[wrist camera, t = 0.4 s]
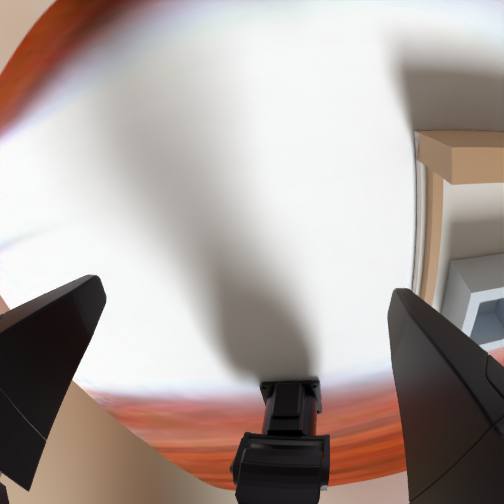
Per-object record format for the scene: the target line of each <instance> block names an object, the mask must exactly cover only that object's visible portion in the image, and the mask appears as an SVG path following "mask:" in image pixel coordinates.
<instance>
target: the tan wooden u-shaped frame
mask: <svg viewBox="0 0 504 504" xmlns="http://www.w3.org/2000/svg"><path fill="white" fill-rule="evenodd" d="M414 136H415V150H416V169H417V234H416V254H415V268H414V279H413V289H412V292H414V293H415V294H416V295H417V296H419V297H420V298H421V299H423V300H424V301H425V302H426V303H428V304H429V305H430V306H432V307H433V308H434V309H435V310H437V311H438V312H439V313H440V314H442V309H443V304H444V299H445V293H446V287H447V281H448V275H449V268H450V261H453V260H461V259H468V258H475V257H482V256H489V255H496V254H503V253H504V132H502V131H477V130H424V131H414Z"/></svg>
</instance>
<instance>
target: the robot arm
mask: <svg viewBox="0 0 504 504" xmlns="http://www.w3.org/2000/svg"><path fill="white" fill-rule="evenodd" d="M105 304H106V294H105V291H104V288H103V285H102V282H101V279H100V278H99V276H97V275H85V276H83V277H81V278H79V279H76V280H74V281H72V282H70V283H68V284H65V285H63V286H61V287H59V288H56V289H54V290H52V291H50V292H48V293H46V294H43V295H41V296H39V297H37V298H35V299H33V300H31V301H28V302H26V303H24V304H22V305H20V306H18V307H16V308H14V309H12V310H10V311H7V312H6V313H4V314H1V315H0V477H1V475H2V473H3V474H4V475H6V476H7V477H8V478H10V479H11V480H13V481H14V482H15V483H17V484H18V485H19V486H21V487H22V488H24V489H25V490H27V491H29V490H30V488H31V485H32V482H33V478H34V476H35V473H36V469H37V467H38V464H39V461H40V457H41V455H42V452H43V449H44V447H45V444H46V440H47V438H48V435H49V433H50V430H51V428H52V425H53V423H54V420H55V418H56V415H57V413H58V411H59V408H60V406H61V403H62V401H63V399H64V396H65V394H66V392H67V390H68V387H69V385H70V383H71V381H72V379H73V376H74V374H75V372H76V370H77V368H78V366H79V364H80V362H81V359H82V357H83V355H84V353H85V351H86V349H87V347H88V345H89V343H90V341H91V339H92V336H93V334H94V331H95V329H96V326H97V324H98V321H99V319H100V316H101V314H102V311H103V309H104V307H105ZM388 329H389V338H390V349H391V361H392V369H393V375H394V380H395V386H396V391H397V397H398V403H399V409H400V416H401V423H402V430H403V438H404V446H405V455H406V465H407V476H408V490H409V501H410V503H409V504H504V366H502V365H501V364H500V363H499V362H498V361H497V360H495V359H494V358H493V357H492V356H491V355H488V353H487V352H486V351H485V350H484V349H483V348H481V347H480V346H479V345H478V344H477V343H476V342H474V341H473V340H472V339H471V338H470V337H468V336H467V335H466V334H465V333H464V332H462V331H461V330H460V329H459V328H458V327H456V326H455V325H454V324H453V323H451V322H450V321H449V320H448V319H447V318H445V317H444V316H443V315H442V314H440V313H439V312H438V311H437V310H435V309H434V308H433V307H432V306H430V305H429V304H428V303H426V302H425V301H424V300H423V299H421V298H420V297H419V296H417V295H416V294H415V293H414V292H412V291H411V290H410V289H408V288H396V289H394V291H393V293H392V297H391V302H390V306H389V310H388ZM260 390H261V393H262V396H263V399H264V402H265V405H266V410H265V416H264V422H263V428H262V433H261V434H256V433H251V432H245V434H244V437H243V438H242V439H241V442H240V445H239V448H238V451H237V454H236V457H235V459H234V460H233V462H232V464H231V466H230V472H231V473H232V474H233V481H234V485H235V486H237V488H236V493H235V496H236V499H237V501H238V504H318V502H319V499H320V490H321V491H322V490H327V488H328V482H329V470H330V435H322V436H316V421H317V414H320V413H321V412H322V406H321V392H320V382H319V381H299V382H263V383H261V384H260ZM0 504H9V500H8V496H7V491H6V486H4V485H3V484H2V483H1V482H0Z"/></svg>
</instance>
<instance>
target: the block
mask: <svg viewBox="0 0 504 504" xmlns="http://www.w3.org/2000/svg"><path fill="white" fill-rule="evenodd" d="M442 315H443V316H444V317H445V318H447V319H448V320H449V321H450V322H451V323H453V324H454V325H455V326H456V327H458V328H459V329H460V330H461V331H462V332H464V333H465V334H466V335H467V336H468V337H470V338H471V339H472V340H473V341H474V342H476V343H477V344H478V345H479V346H480V347H481V348H483V349H484V350H485V351H489V350H492V349H496V348H500V347H504V253H503V254H496V255H489V256H482V257H475V258H468V259H461V260H453V261H450V268H449V275H448V281H447V287H446V293H445V299H444V304H443V309H442Z"/></svg>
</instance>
